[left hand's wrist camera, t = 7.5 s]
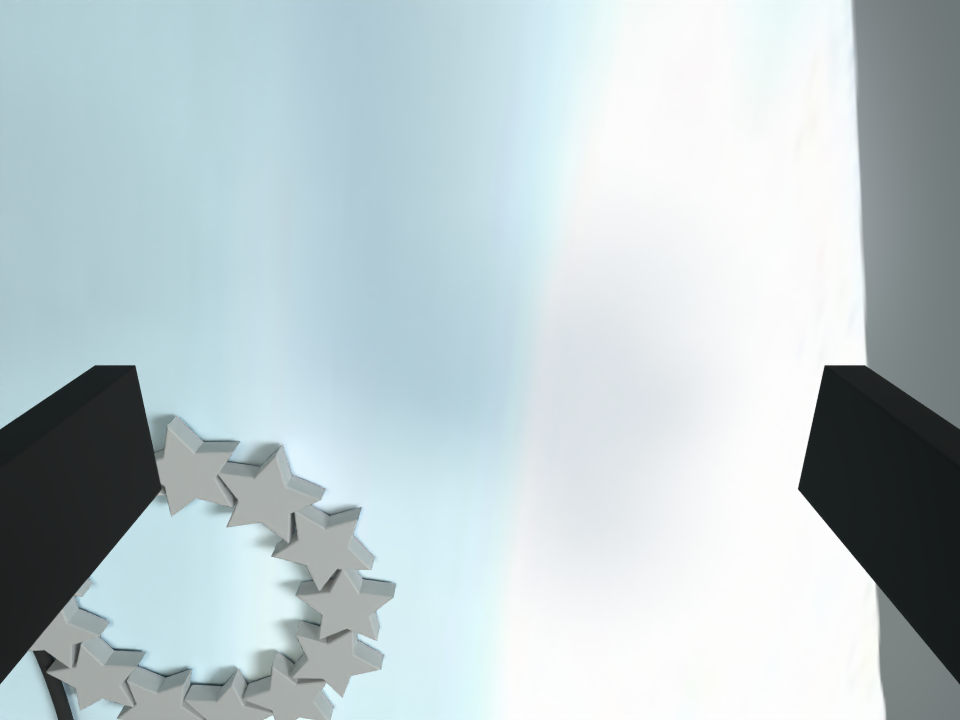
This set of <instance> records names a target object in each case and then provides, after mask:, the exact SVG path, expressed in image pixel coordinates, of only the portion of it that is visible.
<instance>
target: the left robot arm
mask: <svg viewBox="0 0 960 720" xmlns="http://www.w3.org/2000/svg"><path fill="white" fill-rule="evenodd" d="M161 490H162V487H161V482H160V478H159V473H158V468H157V464H156V459H155V454H154V450H153V445H152V441H151V436H150V431H149V427H148V422H147V417H146V413H145V408H144V403H143V399H142V394H141V390H140V385H139V380H138V376H137V371H136V366H135V365H95V366H93V367H92V368H91V369H89V370H88V371H86V372H85V373H83V374H82V375H80V376H79V377H77V378H76V379H74V380H73V381H71V382H70V383H68V384H67V385H65V386H64V387H62V388H61V389H59V390H58V391H56V392H55V393H53V394H52V395H51V396H49V397H48V398H46V399H45V400H43V401H42V402H40V403H39V404H37V405H36V406H34V407H33V408H31V409H30V410H28V411H27V412H25V413H24V414H22V415H21V416H19V417H18V418H16V419H15V420H13V421H12V422H11V423H9V424H8V425H6V426H5V427H3V428H2V429H0V684H1V683H2V681H3V680H4V679H5V678H6V677H7V675H8V674H9V673H10V672H11V671H12V669H13V668H14V667H15V666H16V665H17V663H18V662H19V661H20V660H21V659H22V657H23V656H24V655H25V654H26V653H27V651H28V650H29V649H30V648H31V646H32V645H33V644H34V643H35V642H36V640H37V639H38V638H39V637H40V636H41V634H42V633H43V632H44V631H45V630H46V628H47V627H48V626H49V625H50V624H51V622H52V621H53V620H54V619H55V618H56V616H57V615H58V614H59V613H60V612H61V610H62V609H63V608H64V607H65V605H66V604H67V603H68V602H69V601H70V599H71V598H72V597H73V596H74V595H75V593H76V592H77V591H78V590H79V589H80V587H81V586H82V585H83V584H84V583H85V581H86V580H87V579H88V578H89V577H90V575H91V574H92V573H93V572H94V571H95V569H96V568H97V567H98V566H99V564H100V563H101V562H102V561H103V560H104V558H105V557H106V556H107V555H108V554H109V552H110V551H111V550H112V549H113V548H114V546H115V545H116V544H117V543H118V542H119V540H120V539H121V538H122V537H123V536H124V534H125V533H126V532H127V531H128V530H129V528H130V527H131V526H132V525H133V523H134V522H135V521H136V520H137V519H138V517H139V516H140V515H141V514H142V513H143V511H144V510H145V509H146V508H147V507H148V505H149V504H150V503H151V502H152V501H153V499H154V498H155V497H156V496H157V495H158V493H159V492H160V491H161ZM798 490H799V491H800V492H801V493H802V495H803V496H804V497H805V498H806V499H807V501H808V502H809V503H810V504H811V505H812V507H813V508H814V509H815V510H816V511H817V513H818V514H819V515H820V516H821V517H822V519H823V520H824V521H825V522H826V523H827V525H828V526H829V527H830V528H831V530H832V531H833V532H834V533H835V534H836V536H837V537H838V538H839V539H840V540H841V542H842V543H843V544H844V545H845V546H846V548H847V549H848V550H849V551H850V552H851V554H852V555H853V556H854V557H855V558H856V560H857V561H858V562H859V563H860V564H861V566H862V567H863V568H864V569H865V571H866V572H867V573H868V574H869V575H870V577H871V578H872V579H873V580H874V581H875V583H876V584H877V585H878V586H879V587H880V589H881V590H882V591H883V592H884V593H885V595H886V596H887V597H888V598H889V599H890V601H891V602H892V603H893V604H894V605H895V607H896V608H897V609H898V610H899V611H900V613H901V614H902V615H903V616H904V618H905V619H906V620H907V621H908V622H909V624H910V625H911V626H912V627H913V628H914V630H915V631H916V632H917V633H918V634H919V636H920V637H921V638H922V639H923V640H924V642H925V643H926V644H927V645H928V646H929V648H930V649H931V650H932V651H933V653H934V654H935V655H936V656H937V657H938V659H939V660H940V661H941V662H942V663H943V664H944V666H945V667H946V668H947V669H948V671H949V672H950V673H951V674H952V675H953V677H954V678H955V679H956V680H957V681H958V683H959V684H960V429H958V428H957V427H955V426H954V425H952V424H951V423H949V422H948V421H946V420H945V419H944V418H942V417H941V416H939V415H938V414H936V413H935V412H933V411H932V410H930V409H929V408H927V407H926V406H924V405H923V404H921V403H920V402H918V401H917V400H915V399H914V398H912V397H911V396H909V395H908V394H907V393H905V392H904V391H902V390H901V389H899V388H898V387H896V386H895V385H893V384H892V383H890V382H889V381H887V380H886V379H884V378H883V377H881V376H880V375H878V374H877V373H875V372H874V371H872V370H871V369H869V368H868V367H867V366H865V365H825V366H824V371H823V376H822V380H821V385H820V390H819V394H818V399H817V403H816V408H815V413H814V417H813V422H812V427H811V431H810V436H809V441H808V445H807V450H806V454H805V459H804V464H803V468H802V473H801V478H800V482H799V487H798Z"/></svg>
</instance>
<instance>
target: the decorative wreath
mask: <svg viewBox="0 0 960 720" xmlns="http://www.w3.org/2000/svg"><path fill="white" fill-rule="evenodd" d="M239 442H240V441H230V442H203V441H202V440H201V439H200V438H199V437H198V436H197V435H196V434H195V433H194V432H193V431H192V430H191V429H190V428H189V427H188V426H187V425H186V424H185V423H184V422H183V421H182V420H181V419H180V418H179V417H178V416H176V417H175V418H174V419H173V420H172V421H171V422H170V423H169V424H168V425H167V432H166V440H165V447H164V450H161V451H158V452H155V453H154V454H155V459H156V464H157V468H158V473H159V478H160V482H161V487H162V490H161V491H160V492H159V493H158V495H157V496H162V495H165V494H166V495H167V500H168V504H169V509H170V513H171V517H172V516H173V515H175V514H176V513H177V512H179V511H180V510H181V509H183V508H184V507H185V506H187V505H188V504H189V503H191V502H192V501H193V500H195V499H196V498H197V499H201V500H205V501H209V502H213V503H217V504H221V505H225V506H229V507H232V508H233V506H234V505H235V503H236V502H237V500H238V502H237V504H236V506H235V509H234V511H233V513H232V515H231V518H230V520H229V522H228V524H227V527H232V526H239V525H246V524H253V523H260V522H261V523H262V524H264V525H265V526H266V527H268V528H269V529H270V530H272V531H273V532H274V533H276V534H277V535H278V536H280V537H281V538H282V539H284V540H282V541H281V542H279V543H277V545H276V547H275V549H274V552H273V554H272V557H275V558H279V559H283V560H287V561H291V562H295V563H299V564H303V565H306V567H307V569H308V571H309V573H310V575H311V577H312V579H313V581H307V582H301V583H300V585H299V588H298V591H297V593H296V596H297V597H298V598H300V599H301V600H302V601H304V602H305V603H306V604H308V605H309V606H311V607H312V608H313V609H315V610H316V611H317V612H319V613H320V614H322V616H321V624H320V626H317V625H314V624H310V623H306V622H303V621H300V623H299V626H298V629H297V631H296V634H295V635H296V637H297V639H298V641H299V643H300V645H301V647H302V649H303V651H304V652H305V653H304V654H303V655H302V657H301V658H300V659H299V660H298V661H297V662H296V663H295V664H294V663H292V662H291V661H290V660H288V659H287V658H286V657H284V656H283V655H282V654H280V653H279V652H277V654H276V657H275V660H274V662H273V665H272V672H271V676H270V677H267V678H264V679H261V680H258V681H255V682H253V683H250V684H248V685H247V683H246V681H245V679H244V678H243V676H242V674H241V672H240V670H239V669H238V670H237V671H236V672H235V673H234V674H233V675H232V676H231V678H230V679H229V680H228V681H227V682H226V683H225V684H224V686H210V685H192V686H191V688H190V682H191V671H192V669H189V670H186V671H183V672H181V673H178V674H175V675H172V676H169V677H166V678H165V677H163V676H161V675H158V674H156V673H153V672H151V671H148V670H146V669H144V668H141V667H139V666H138V664H139V663H140V661H141V659H142V658H143V656H144V654H145V653H146V652H135V651H116V650H113V649H112V648H111V647H110V646H109V645H108V644H107V643H106V642H105V641H104V640H103V639H102V638H100V637H99V636H100V635H101V634H102V633H103V631H104V630H105V628H106V627H107V626H108V624H109V623H110V622H109V621H108V620H105V619H103V618H100V617H98V616H96V615H93V614H91V613H89V612H86V611H84V610H82V609H79V608H78V605H77V602H76V599H75V597H74V596H78V597H83V595H84V594H85V593H86V592H87V590H88V589H89V588H90V587H91V585H92V584H93V583H92V581H91V580H90V579H89V578H88V579H87V580H86V581H85V583H84V584H83V585H82V586H81V587H80V589H79V590H78V591H77V592H76V593H75V595H74V596H73V597H72V598H71V599H70V601H69V602H68V603H67V604H66V605H65V607H64V608H63V609H62V610H61V612H60V613H59V614H58V615H57V616H56V618H55V619H54V620H53V621H52V622H51V624H50V625H49V626H48V627H47V628H46V630H45V631H44V632H43V633H42V634H41V636H40V637H39V638H38V639H37V640H36V642H35V643H34V644H33V645H32V646H31V648H30V649H29V650H28V651H37V650H45V651H47V652H48V653H49V654H51V655H52V656H53V657H55V658H56V660H55V661H54V662H53V664H52V665H51V666H50V668H49V669H48V670H47V673H48V674H50V675H52V676H54V677H56V678H58V679H60V680H61V681H63V682H65V683H67V684H69V685H71V686H73V687H75V688H76V692H77V697H78V702H79V707H80V710H82V709H84V708H86V707H88V706H89V705H91V704H93V703H95V702H97V701H99V700H101V699H106V700H109V701H113V702H116V703H120V704H123V705H124V707H123V709H122V710H121V712H120V714H119V716H118V717H117V719H121V720H263V719H265V718H267V717H269V716H272V715H274V718H275V720H296V719H297V718H299V717H300V718H306V719H313V720H331V716H332V712H333V708H334V706H333V705H332V703H331V702H330V701H329V699H328V698H327V697H326V696H325V694H324V693H323V692H322V689H323V687H324V686H325V684H326V683H328V684H329V685H330V686H331V687H332V688H333V689H334V690H335V691H336V692H337V693H338V694H339V695H340V696H341V697H342V698H343V695H344V693H345V690H346V687H347V685H348V682H349V679H350V677H351V676H353V675H357V674H362V673H367V672H372V671H376V670H381V668H382V662H383V656H384V655H383V654H382V653H380V652H378V651H376V650H374V649H372V648H371V647H369V646H367V645H365V644H363V643H362V642H360V641H358V640H357V633H359V634H361V635H364V636H366V637H369V638H371V639H373V640H376V641H377V639H378V634H379V629H380V625H379V621H378V618H377V614H376V611H377V610H378V609H379V608H380V607H382V606H383V605H384V604H386V603H387V602H388V601H389V600H391V599H392V598H393V597H394V592H395V587H396V584H394V583H387V582H380V581H372V580H365V579H362V577H361V576H360V574H359V573H358V571H357V570H372V566H373V562H374V556H373V555H372V554H371V553H370V552H369V551H368V549H367V548H366V547H365V546H364V545H363V544H362V543H361V542H360V541H359V540H358V539H357V538H356V537H355V536H354V535H353V533H354V530H355V527H356V524H357V521H358V518H359V514H360V511H361V508H362V507H359V508H356V509H352V510H349V511H345V512H342V513H338V514H334V515H331V516H329V515H327V514H325V513H324V512H322V511H320V510H319V509H317V508H315V507H313V506H312V505H311V504H313V503H316V502H318V501H320V500H321V499H322V496H323V494H324V491H325V488H323V487H320V486H318V485H315V484H313V483H310V482H308V481H305V480H303V479H300V478H298V477H296V476H293V475H292V473H291V470H290V467H289V463H288V460H287V457H286V453H285V450H284V447H283V444H282V445H281V446H280V447H279V448H278V449H277V450H276V451H275V452H274V453H273V454H272V455H271V456H270V457H269V458H268V459H267V460H266V461H265V463H264V464H263V465H262V466H261V467H259V466H252V465H245V464H238V463H231V462H227V461H228V459H229V458H230V456H231V455H232V453H233V452H234V450H235V449H236V447H237V445H238V444H239ZM295 522H296V529H297V532H295V533H294V526H295ZM337 569H338V571H337V573H336V575H335V576H334V578H333V579H330V577H331V576H332V575H333V574H334V572H335V571H336V570H337Z"/></svg>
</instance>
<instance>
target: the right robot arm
mask: <svg viewBox="0 0 960 720" xmlns="http://www.w3.org/2000/svg"><path fill="white" fill-rule="evenodd" d="M33 652H34V654H35V657H36V659H37V661H38V663H39V666H40V668H41V671H42V673H43V676H44V679H45V681H46V684H47V687H48V689H49V692H50V695H51V698H52V701H53V704H54V707H55V710H56V713H57V716H58V720H73V716H72V713H71V709H70V706H69V703H68V699H67V696H66V693H65V690H64V687H63V684H62V682H61V680H60V679H58V678H56V677H54V676H52V675H50V674H48V673H47V670H48V669H49V668H50V666H51V665H52V664H53V662H54V660H53V657H52V655H51V654H49V653H48V652H47V651H45V650H37V651H33Z"/></svg>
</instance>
